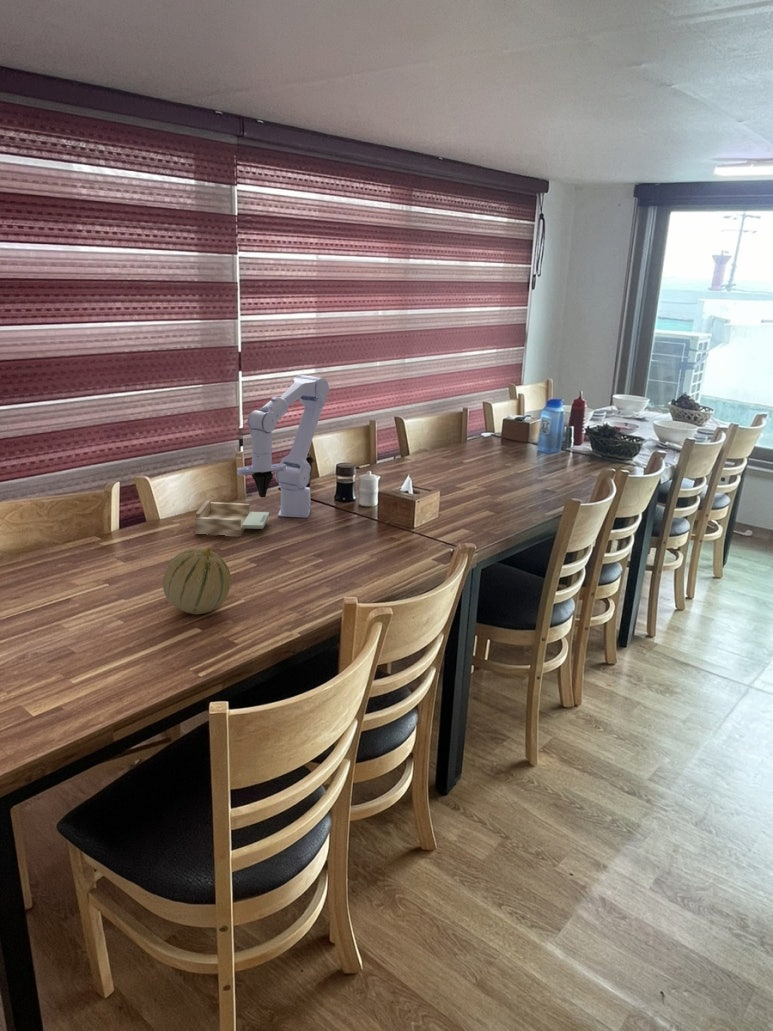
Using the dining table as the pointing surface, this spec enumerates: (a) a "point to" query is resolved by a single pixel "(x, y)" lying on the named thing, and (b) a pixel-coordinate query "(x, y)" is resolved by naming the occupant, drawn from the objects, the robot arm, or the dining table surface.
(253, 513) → the pale green flat slab
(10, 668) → the dining table surface
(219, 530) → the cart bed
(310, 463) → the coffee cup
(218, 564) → the cantaloupe
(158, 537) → the dining table surface
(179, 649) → the dining table surface
